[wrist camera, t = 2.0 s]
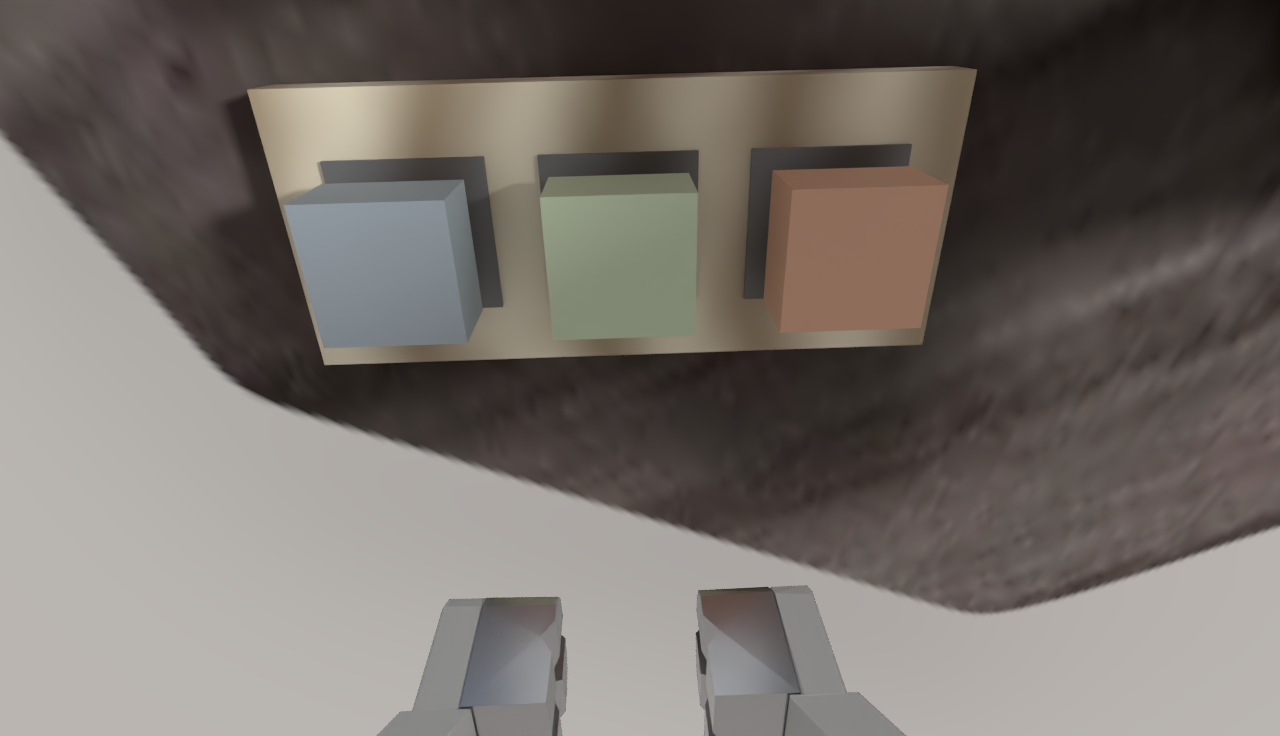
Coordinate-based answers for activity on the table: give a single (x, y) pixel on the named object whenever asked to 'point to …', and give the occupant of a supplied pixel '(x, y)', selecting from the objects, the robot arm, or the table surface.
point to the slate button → (388, 262)
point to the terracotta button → (851, 247)
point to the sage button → (621, 255)
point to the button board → (616, 145)
